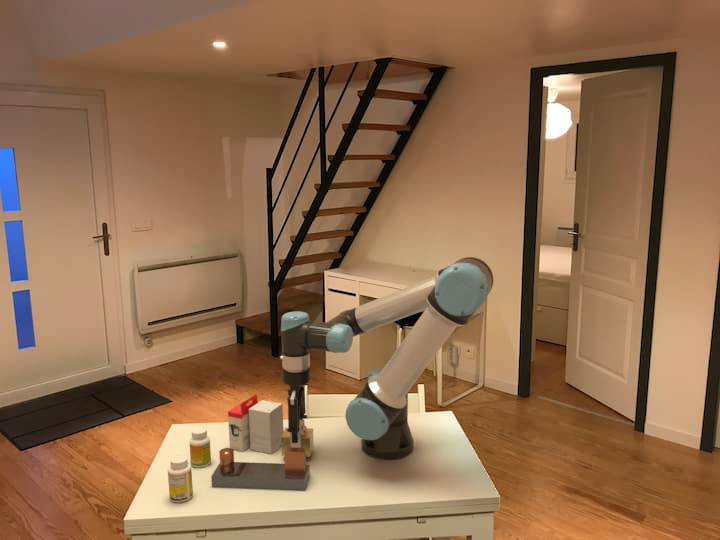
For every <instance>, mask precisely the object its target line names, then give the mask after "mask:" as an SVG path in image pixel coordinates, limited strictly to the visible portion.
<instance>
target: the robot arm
mask: <svg viewBox="0 0 720 540" xmlns="http://www.w3.org/2000/svg"><path fill="white" fill-rule="evenodd" d="M493 286H494V275H493V271H492V269H491V267H490V266H489V265H488V263H486V262H485V261H484V260H482V259H481V258H477V257H473V256H466V257H462V258H460V259H458V260H456V261H455V262H454V263H452V264H451V265H448V266H446V267H444V268H442V269H439V270H438V271H437V272H436V275H434V276H432V277H430V278H427V279H424V280H422V281H419V282H417V283H415V284H411V285H410V286H409V285H408V286H406V287H404V288H402V289H399V290H397V291H394V292H392V293H388V294H387V295H383V296H381V297H378V298H376V299H374V300H371V301H369V302H367V303H364V304H360V305H359V306H357V307H354V308H351V309H346V310H344V311H341V312H340V313H339V314H337V315H336V316H335V317H333V318H331V319H330V320H327V322H320V321H312V320H310V315H309V314H308V313H307V312H306V311H305V312H304V311H299V310H298V311H290V312H286V313H284V314H283V315H282V316H281V321H280V322H281V323H280V333H281V335H280V336H281V355H280V356H279V357H280V358H279V359H280V360H282V361H281V362H282V365H281V366H282V370H281V371H282V374H281V375H282V382H283V384H284V385H288V386H289V387H290V388H289V389H288V392H287V393H288V394H287V395H288V397H287V399H286V400H287V406H288V407H287V414H288V415H287V416H288V417H287V420H288V421H287V422H288V423H287V424H288V425H287V428H288V429H287V431H288V432H290V446H291V447H294V448H301V438H300V429H299V428H301V426H302V425H305V419H306V420H307V418H308V415H307V414H306V411H307V410H306V388H305V386H306V384H308V383H309V382H310V381H311V369H310V366H311V357H310V350H313V351H321V352H330V353H333V354H337V353H342V354H343V353H344V354H345V353H348V352H349V351H350V349H351V347H352V345H353V340H354V337H357V336H360V335H362V334H364V333H367V332H369V331H371V330H375V329H377V328H380V327H382V326H385V325H388V324H390V323H393V322H396V321H399V320H401V319H404V318H407V317H409V316H412V315H415V314H418V313H421V312H422V314H421V315H420V317H418V319H417V321H416V322H415V323H414V325H413V326H412V328H411V329H410V331H409V332H408V333H407V335H406V336H405V337H404V339H403V341H402V342H401V343H400V344H399V346H398V347H397V349H396V350H395V352H394V353H393V354H392V356H391V357H390V359H389V360H388V361H387V363H386V364H385V366H384V367H383V368H376V369H375V368H374V369H371V370H369V371H368V372H367V375H366V376H367V377H366V383H365V384H364V385H363V387H362V388H361V389H360V390H359V392H358V393H357V395H356V396H355V397H354V399H352V400H351V401H350V402H349V403H348V406H347V407H346V410H345V421H346V424H347V427H348V428H349V430H350V431H351V432H352V433H353V434H354V435H355V436H356V437H358V438H360V439H361V447H360V448H361V450H362V452H363V453H364V454H366V455H367V456H369V457H372V458H375V459H378V460H379V459H380V460H395V459H396V460H397V459H401V458H405V457H407V456H409V455H410V454H411V453H413V451H414V438H413V435H412V434H413V433H412V432H411V429H410V426H409V423H408V416H409V415H408V414H409V411H408V409H409V391H410V390H411V388H412V387H413V386H414V385H415V383H416V382H417V381H418V379H419V378H420V376H421V375H422V374H423V372H424V371H425V369H426V368H427V367H428V366H429V364H430V363H431V361H433V359H434V358H435V357H436V355H437V353H439V351H440V350H441V348H442V347H443V346H444V344H445V343H446V342H447V340H448V339H449V337H450V336H451V334H452V333H453V332H455V330H456V328H457V327H465V326H466V325H467V324H468V322H470V320H471V319H472V317H473V316H474V315H475V313H476V312H478V311H477V310H479V309H480V308H481V307H482V306H483V304H484V303H485V301H486V299H487V297H488V295H489V294H490V292H491V291H492V289H493ZM305 426H306V425H305Z"/></svg>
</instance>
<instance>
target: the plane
mask: <svg viewBox="0 0 720 540" xmlns="http://www.w3.org/2000/svg"><path fill="white" fill-rule="evenodd" d="M234 453H235V450H234V449H232V448H230V447H224V448H222V449H220V450H219V453H218V454H219V464H218V465H217V466H216V468H215V469H214V471H213V473H211V477H210V478H211V487H212V488H228V489H229V488H232V489H233V488H234V489H250V490H251V489H252V490H253V489H255V490H278V489H280V490H283V491H304V492H305V491H306V488H307V485H308V482H309V479H310V475H311V472H310V469H311V467H310V464H308V463H307V458H306V448H294V447H286V450H285V456H284V463H279V462H277V463H276V462H273V463H272V462H250V461H249V462H243V461H235V454H234Z"/></svg>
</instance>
